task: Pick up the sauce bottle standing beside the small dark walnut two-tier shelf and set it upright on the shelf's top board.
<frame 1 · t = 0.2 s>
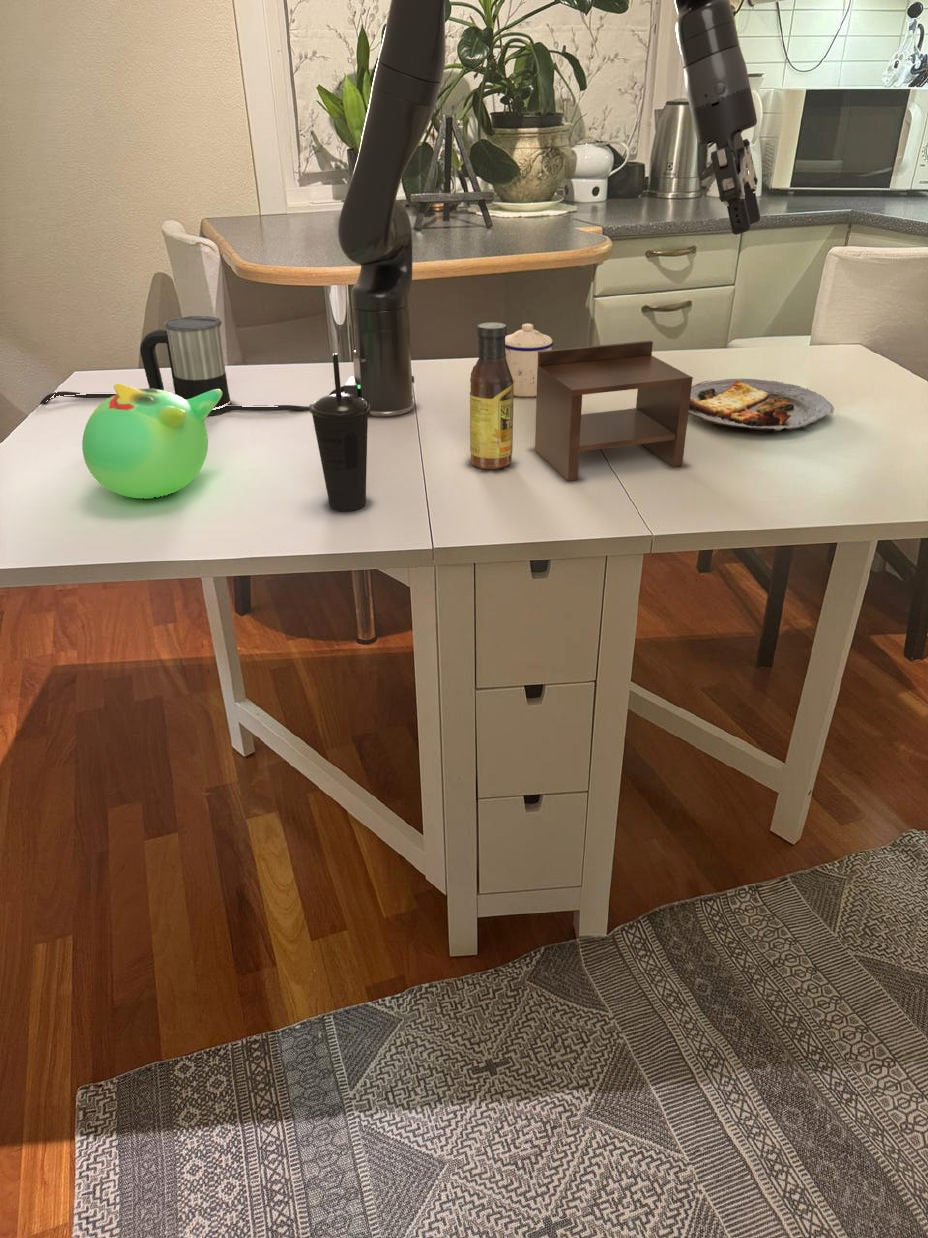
hand: (747, 227, 121), 31 cm above the table, tool tilted 20°, fingers open, 8 cm apart
teacup with lid: (518, 392, 165), on the table
food plate: (750, 415, 152), on the table
drinking cup: (348, 505, 122), on the table
sauce bottle: (491, 464, 135), on the table
shelf: (606, 457, 136), on the table
milk frother: (193, 417, 155), on the table
toy bird: (160, 492, 127), on the table
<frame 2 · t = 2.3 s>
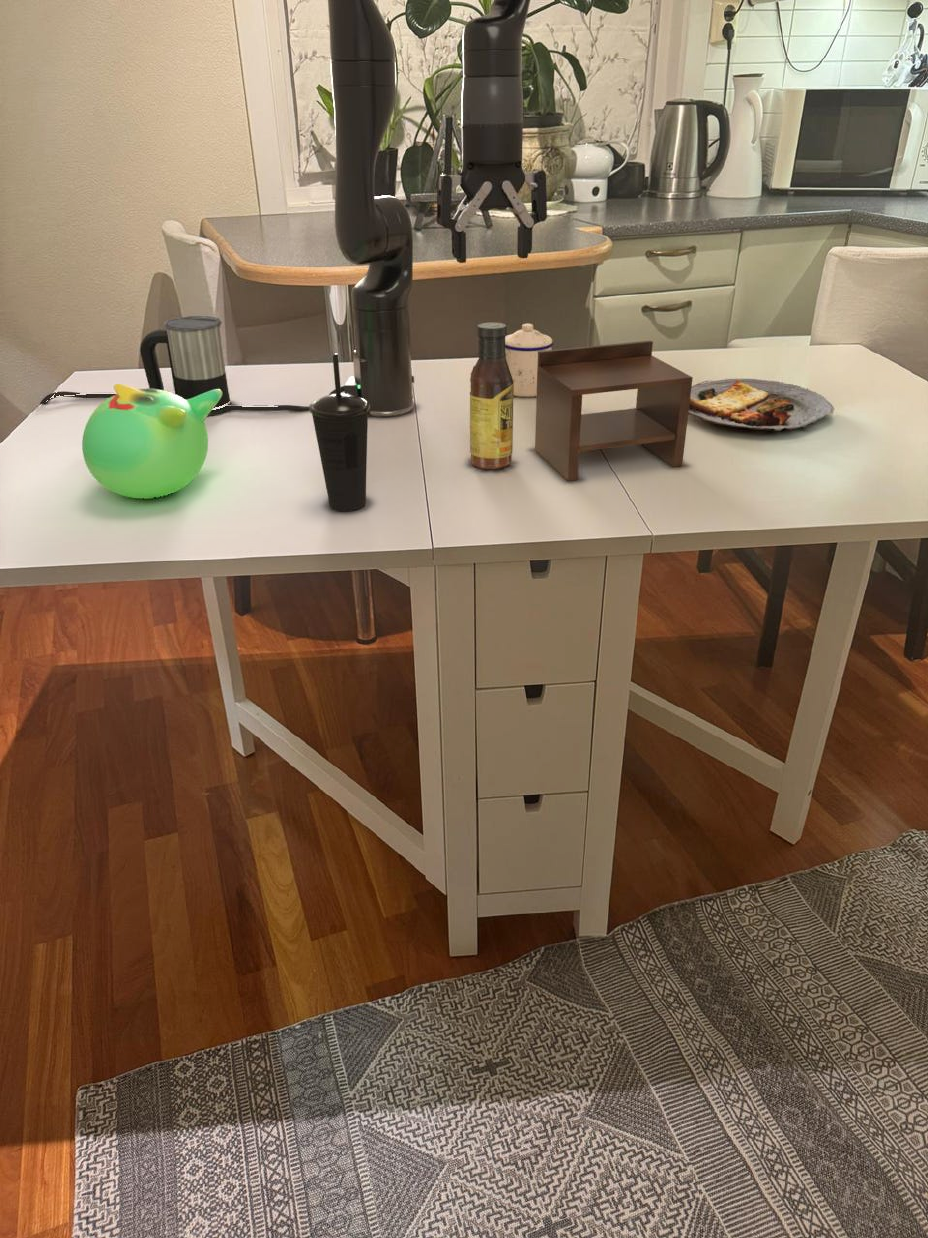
hand: (491, 259, 120), 28 cm above the table, tool pointing down, fingers open, 8 cm apart
nothing on the table moved.
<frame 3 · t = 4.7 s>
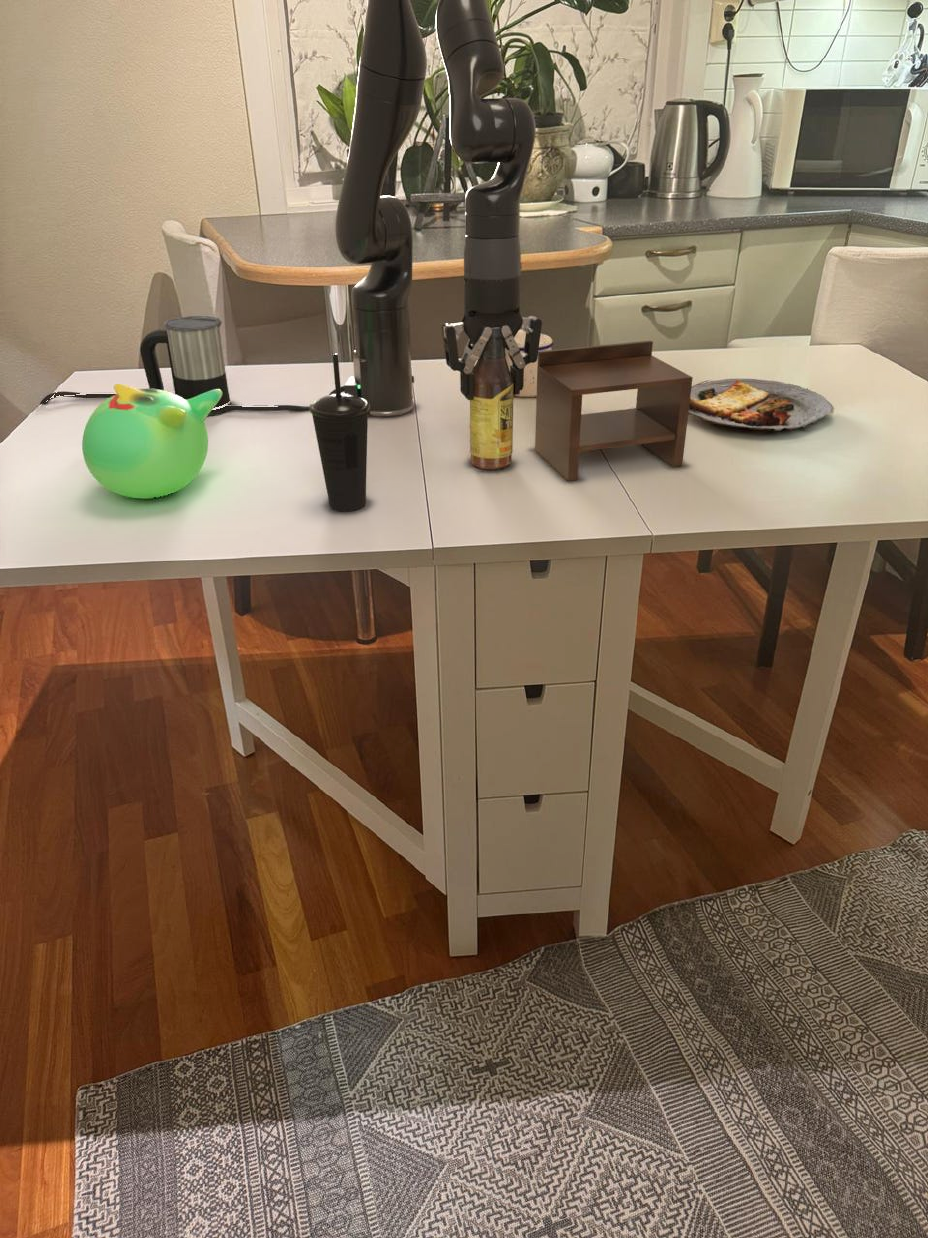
hand: (491, 395, 129), 10 cm above the table, tool pointing down, fingers closed on sauce bottle, 6 cm apart
sauce bottle: (491, 464, 135), on the table, touching gripper
everything else where it was.
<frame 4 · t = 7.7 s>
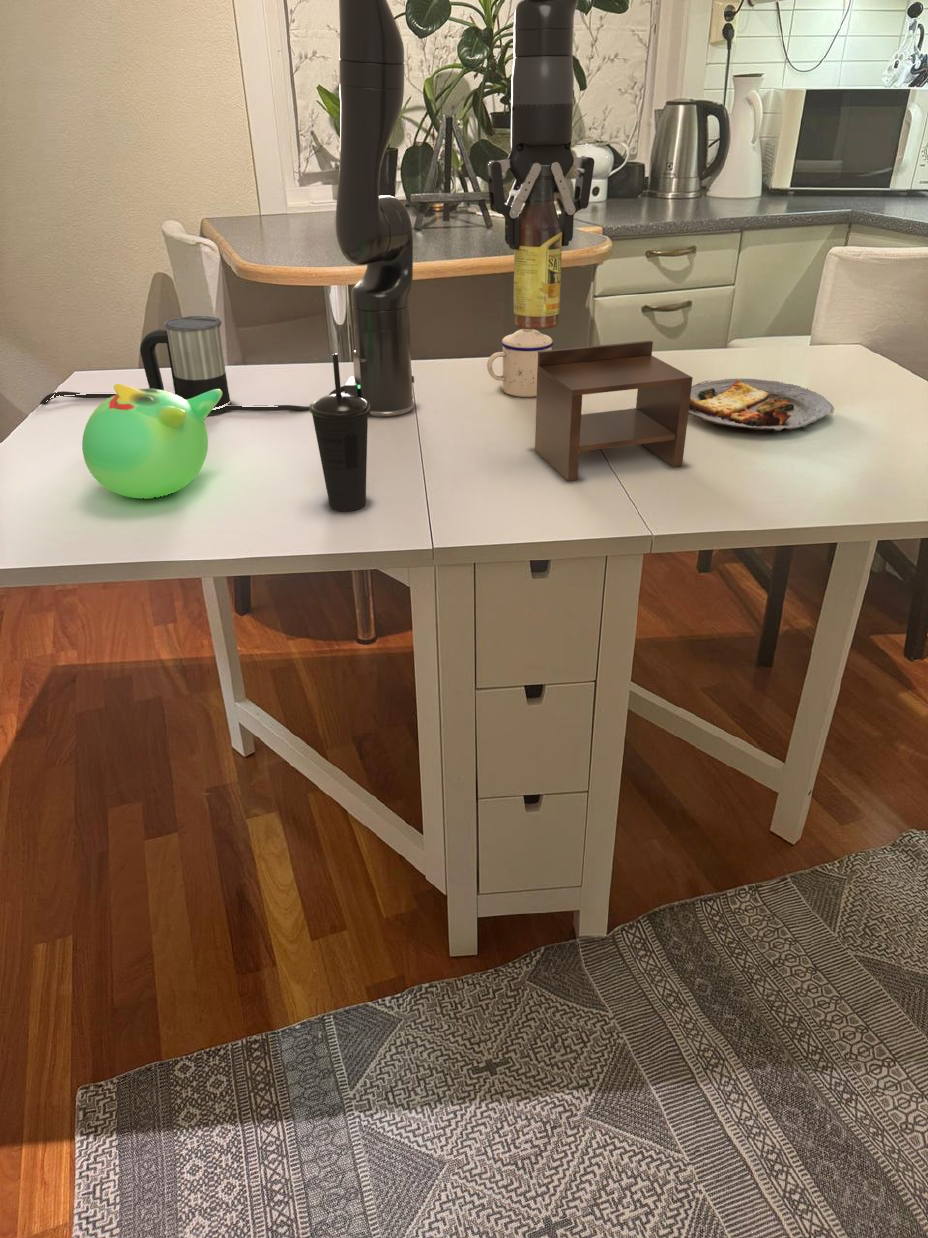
hand: (538, 246, 119), 30 cm above the table, tool pointing down, fingers closed on sauce bottle, 6 cm apart
sauce bottle: (536, 327, 125), point 19 cm above the table, touching gripper
everything else where it was.
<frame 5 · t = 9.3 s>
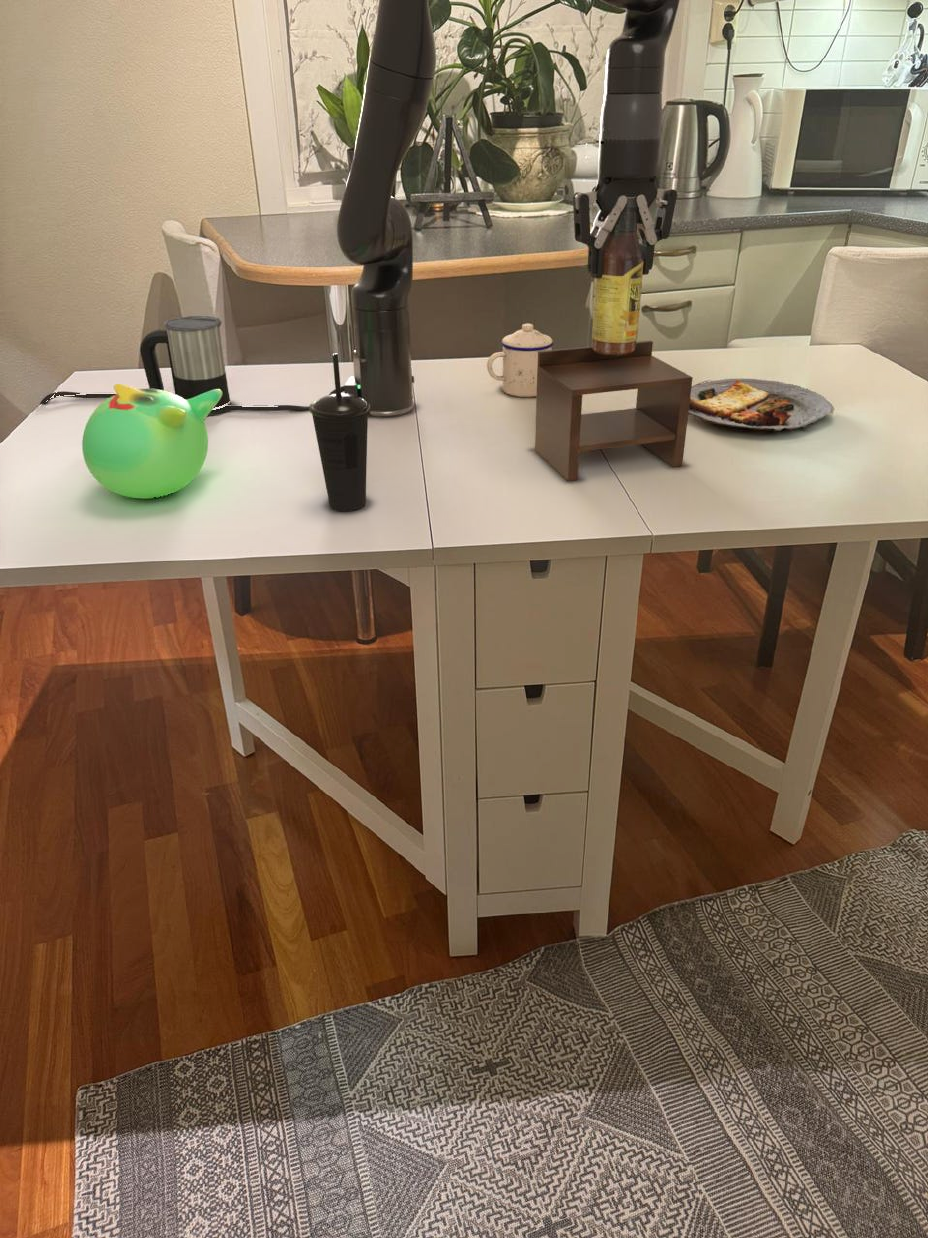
hand: (619, 274, 122), 26 cm above the table, tool pointing down, fingers closed on sauce bottle, 6 cm apart
sauce bottle: (613, 352, 128), point 16 cm above the table, touching gripper
everything else where it was.
when the fingers open (23 cm above the table, at t = 10.7 s): sauce bottle stays where it is, resting on shelf.
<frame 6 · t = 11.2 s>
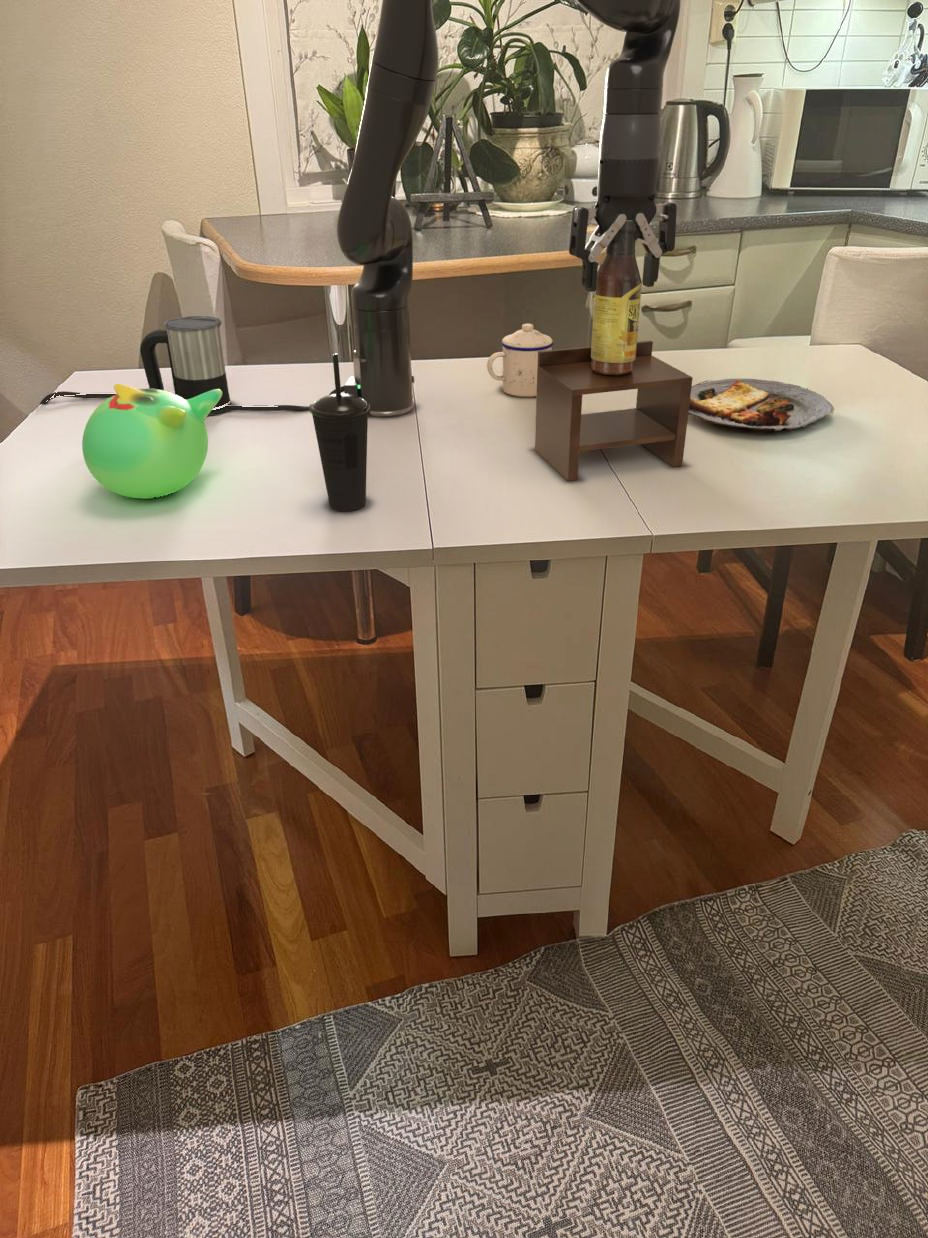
hand: (619, 288, 123), 24 cm above the table, tool pointing down, fingers open, 8 cm apart
sauce bottle: (612, 372, 129), point 13 cm above the table, touching shelf
everything else where it was.
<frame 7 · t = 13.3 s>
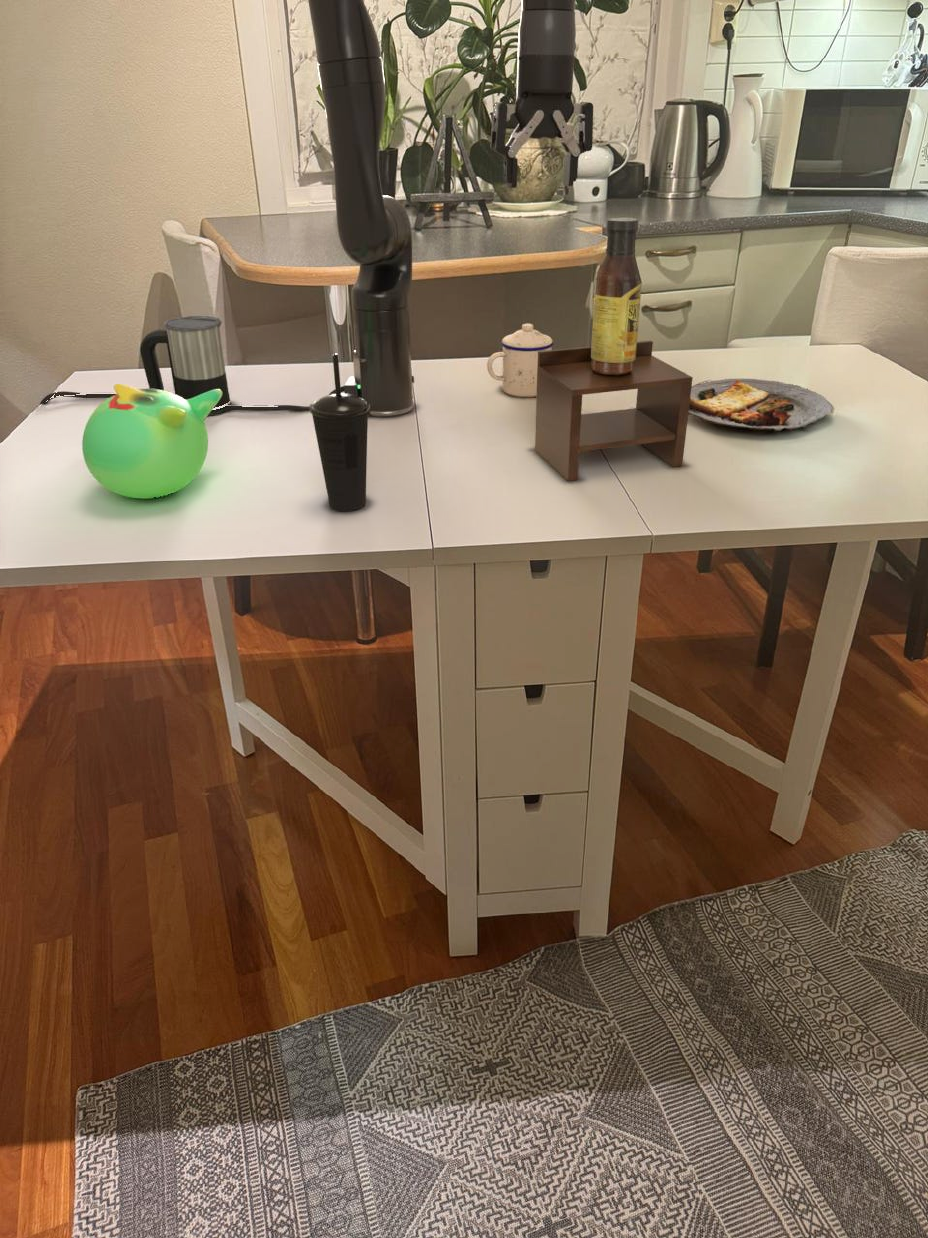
hand: (539, 186, 129), 36 cm above the table, tool pointing down, fingers open, 8 cm apart
nothing on the table moved.
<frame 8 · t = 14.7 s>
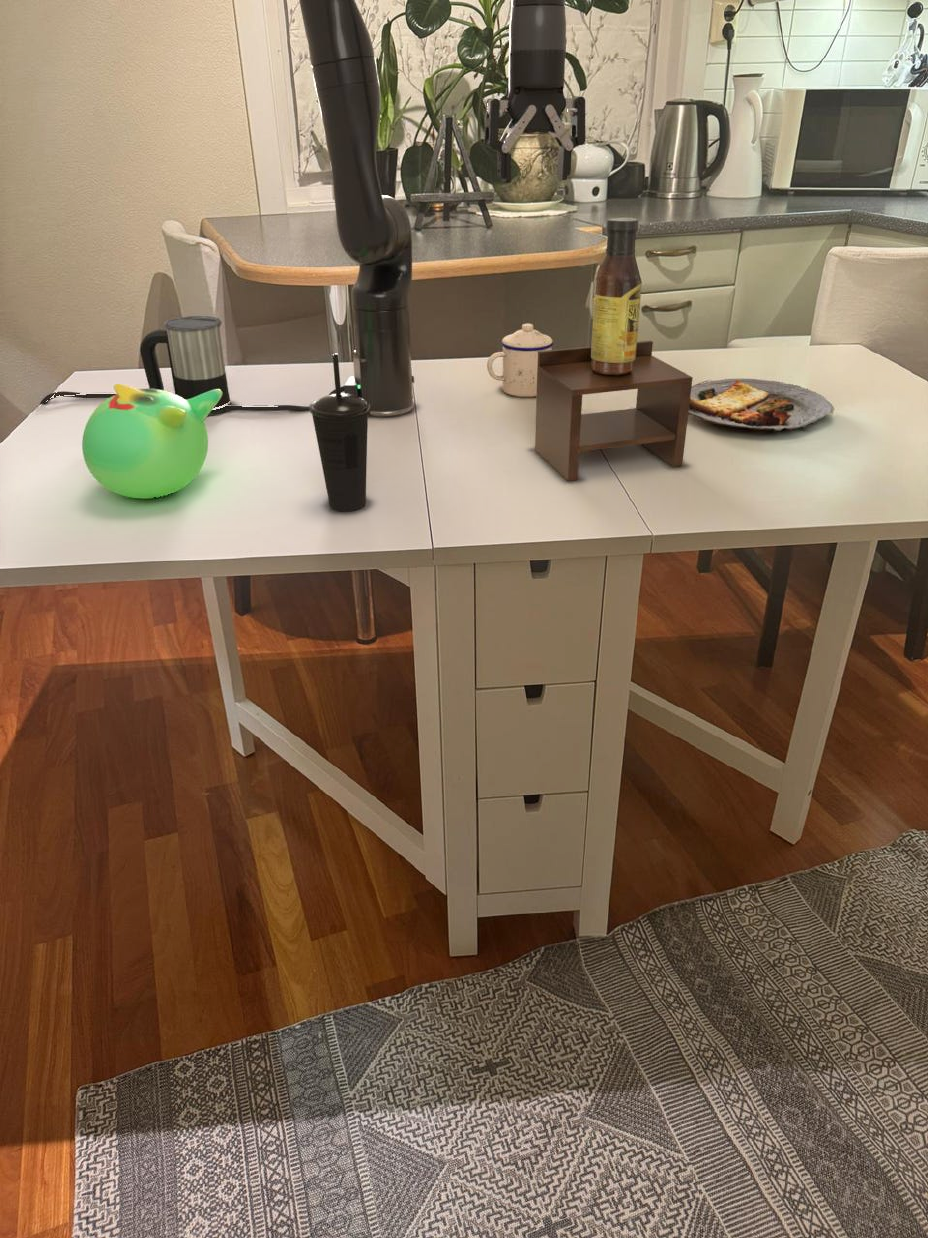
hand: (533, 181, 130), 36 cm above the table, tool pointing down, fingers open, 8 cm apart
nothing on the table moved.
at the end: sauce bottle inside the target area on the shelf (0.1 cm from its centre), point 12.8 cm above the shelf's base; sauce bottle tilted 0°; the gripper is holding nothing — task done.
